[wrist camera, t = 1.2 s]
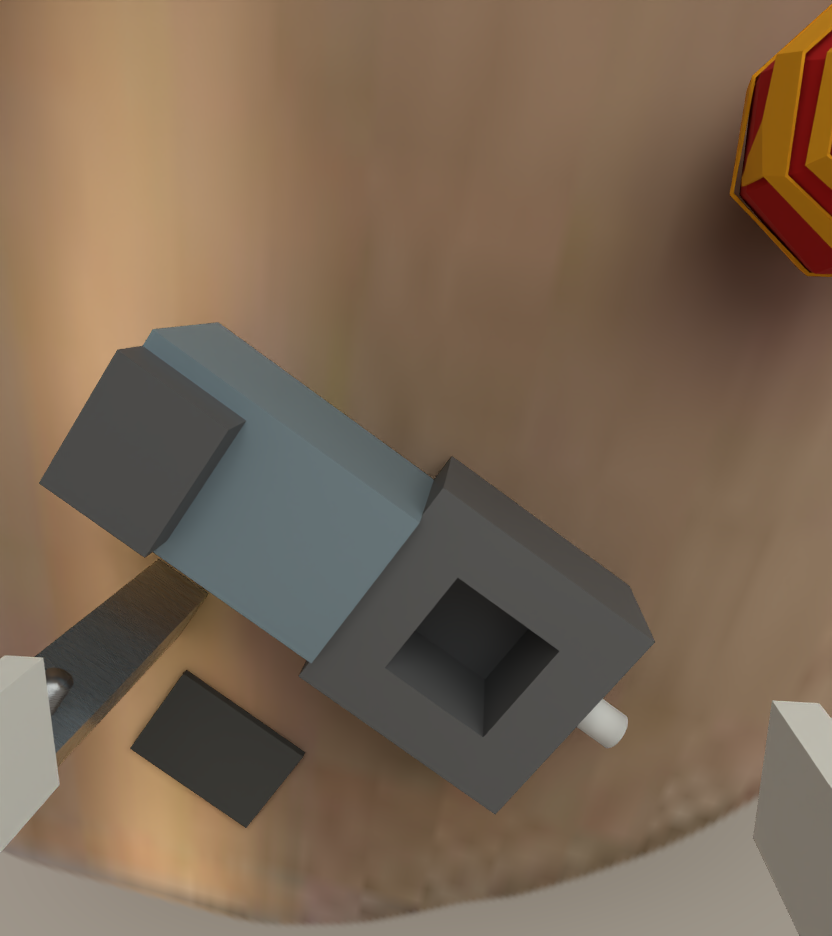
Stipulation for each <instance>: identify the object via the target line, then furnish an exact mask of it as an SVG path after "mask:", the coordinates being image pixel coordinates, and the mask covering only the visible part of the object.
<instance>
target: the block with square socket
mask: <svg viewBox="0 0 832 936" xmlns="http://www.w3.org/2000/svg"><path fill="white" fill-rule="evenodd" d="M39 484H41V485H42V486H44V487H45V488H46V489H48V490H49V491H51V492H52V493H53V494H55V495H56V496H58V497H59V498H61V499H62V500H63V501H65V502H66V503H68V504H69V505H71V506H72V507H73V508H75V509H76V510H78V511H79V512H80V513H82V514H83V515H85V516H86V517H88V518H89V519H90V520H92V521H93V522H95V523H96V524H98V525H99V526H100V527H102V528H103V529H105V530H106V531H107V532H109V533H110V534H112V535H113V536H115V537H116V538H117V539H119V540H120V541H122V542H123V543H125V544H126V545H127V546H129V547H130V548H132V549H133V550H134V551H136V552H137V553H139V554H140V555H142V556H143V557H144V558H145V557H146V556H148V555H149V554H150V553H152V552H154V553H155V554H156V555H158V556H159V557H161V558H162V559H164V560H165V561H166V562H168V563H169V564H171V565H172V566H173V567H175V568H176V569H178V570H179V571H181V572H182V573H183V574H185V575H186V576H188V577H189V578H191V579H192V580H193V581H195V582H196V583H198V584H199V585H200V586H202V587H203V588H205V589H206V590H208V591H209V592H210V593H212V594H213V595H215V596H216V597H218V598H219V599H220V600H222V601H223V602H225V603H226V604H227V605H229V606H230V607H232V608H233V609H235V610H236V611H237V612H239V613H240V614H242V615H243V616H244V617H246V618H247V619H249V620H250V621H252V622H253V623H254V624H256V625H257V626H259V627H260V628H262V629H263V630H264V631H266V632H267V633H269V634H270V635H271V636H273V637H274V638H276V639H277V640H279V641H280V642H281V643H283V644H284V645H286V646H287V647H288V648H290V649H291V650H293V651H294V652H296V653H297V654H298V655H300V656H301V657H303V658H304V659H306V660H307V661H306V663H305V665H304V666H303V668H302V670H301V672H300V674H299V677H300V678H302V679H303V680H304V681H306V682H307V683H309V684H310V685H312V686H313V687H314V688H316V689H317V690H319V691H320V692H322V693H323V694H324V695H326V696H327V697H329V698H330V699H331V700H333V701H334V702H336V703H337V704H339V705H340V706H341V707H343V708H344V709H346V710H347V711H349V712H350V713H351V714H353V715H354V716H356V717H357V718H359V719H360V720H361V721H363V722H364V723H366V724H367V725H368V726H370V727H371V728H373V729H374V730H376V731H377V732H378V733H380V734H381V735H383V736H384V737H386V738H387V739H388V740H390V741H391V742H393V743H394V744H396V745H397V746H398V747H400V748H401V749H403V750H404V751H405V752H407V753H408V754H410V755H411V756H413V757H414V758H415V759H417V760H418V761H420V762H421V763H423V764H424V765H425V766H427V767H428V768H430V769H431V770H433V771H434V772H435V773H437V774H438V775H440V776H441V777H443V778H444V779H445V780H447V781H448V782H450V783H451V784H452V785H454V786H455V787H457V788H458V789H460V790H461V791H462V792H464V793H465V794H467V795H468V796H470V797H471V798H472V799H474V800H475V801H477V802H478V803H480V804H481V805H482V806H484V807H485V808H487V809H488V810H489V811H491V812H492V813H494V814H496V813H497V812H498V811H499V810H500V809H501V808H502V807H503V806H504V805H505V803H506V802H507V801H508V800H509V799H510V798H511V797H512V796H513V795H514V794H515V793H516V792H517V790H518V789H519V788H520V787H521V786H522V785H523V784H524V783H525V782H526V781H527V780H528V779H529V778H530V776H531V775H532V774H533V773H534V772H535V771H536V770H537V769H538V768H539V767H540V766H541V765H542V763H543V762H544V761H545V760H546V759H547V758H548V757H549V756H550V755H551V754H552V753H553V752H554V751H555V749H556V748H557V747H558V746H559V745H560V744H561V743H562V742H563V741H564V740H565V739H566V738H567V737H568V735H569V734H570V733H571V732H572V731H573V730H574V729H575V728H576V727H577V728H579V729H580V730H582V731H583V732H584V733H586V734H587V735H589V736H590V737H591V738H593V739H594V740H596V741H597V742H598V743H600V744H601V745H603V746H604V747H605V748H611V747H613V746H615V745H616V744H617V743H618V742H619V741H620V740H621V738H622V737H623V735H624V733H625V731H626V729H627V725H628V718H627V716H626V715H624V714H623V713H622V712H620V711H619V710H617V709H616V708H615V707H613V706H612V705H611V704H609V703H608V702H606V701H605V700H604V699H603V698H604V697H605V695H606V694H607V693H608V692H609V691H610V690H611V689H612V688H613V687H614V686H615V685H616V684H617V683H618V681H619V680H620V679H621V678H622V677H623V676H624V675H625V674H626V673H627V672H628V671H629V670H630V668H631V667H632V666H633V665H634V664H635V663H636V662H637V661H638V660H639V659H640V658H641V657H642V656H643V654H644V653H645V652H646V651H647V650H648V649H649V648H650V647H651V646H652V645H653V644H654V643H655V641H654V638H653V636H652V634H651V632H650V630H649V627H648V625H647V623H646V621H645V619H644V617H643V614H642V612H641V610H640V608H639V606H638V604H637V601H636V599H635V597H634V595H633V593H632V590H631V588H630V586H629V585H627V584H626V583H624V582H623V581H622V580H620V579H619V578H618V577H616V576H615V575H614V574H612V573H611V572H609V571H608V570H607V569H605V568H604V567H603V566H601V565H600V564H599V563H597V562H596V561H594V560H593V559H592V558H590V557H589V556H588V555H586V554H585V553H584V552H582V551H581V550H579V549H578V548H577V547H575V546H574V545H573V544H571V543H570V542H569V541H567V540H566V539H564V538H563V537H562V536H560V535H559V534H558V533H556V532H555V531H553V530H552V529H551V528H549V527H548V526H547V525H545V524H544V523H543V522H541V521H540V520H538V519H537V518H536V517H534V516H533V515H532V514H530V513H529V512H528V511H526V510H525V509H523V508H522V507H521V506H519V505H518V504H517V503H515V502H514V501H513V500H511V499H510V498H508V497H507V496H506V495H504V494H503V493H502V492H500V491H499V490H497V489H496V488H495V487H493V486H492V485H491V484H489V483H488V482H487V481H485V480H484V479H482V478H481V477H480V476H478V475H477V474H476V473H474V472H473V471H472V470H470V469H469V468H467V467H466V466H465V465H463V464H462V463H461V462H459V461H458V460H457V459H455V458H454V457H451V458H450V459H449V461H448V462H447V463H446V464H445V466H444V467H443V468H442V470H441V471H440V472H439V474H438V475H437V476H436V478H435V479H432V478H431V477H430V476H428V475H427V474H425V473H424V472H423V471H421V470H420V469H419V468H417V467H416V466H414V465H413V464H412V463H410V462H409V461H408V460H406V459H405V458H403V457H402V456H401V455H399V454H398V453H397V452H395V451H394V450H392V449H391V448H390V447H388V446H387V445H386V444H384V443H383V442H382V441H380V440H379V439H377V438H376V437H375V436H373V435H372V434H371V433H369V432H368V431H366V430H365V429H364V428H362V427H361V426H360V425H358V424H357V423H355V422H354V421H353V420H351V419H350V418H349V417H347V416H346V415H344V414H343V413H342V412H340V411H339V410H338V409H336V408H335V407H334V406H332V405H331V404H329V403H328V402H327V401H325V400H324V399H323V398H321V397H320V396H318V395H317V394H316V393H314V392H313V391H312V390H310V389H309V388H307V387H306V386H305V385H303V384H302V383H301V382H299V381H298V380H296V379H295V378H294V377H292V376H291V375H290V374H288V373H287V372H285V371H284V370H283V369H281V368H280V367H279V366H277V365H276V364H275V363H273V362H272V361H270V360H269V359H268V358H266V357H265V356H264V355H262V354H261V353H259V352H258V351H257V350H255V349H254V348H253V347H251V346H250V345H248V344H247V343H246V342H244V341H243V340H242V339H240V338H239V337H237V336H236V335H235V334H233V333H232V332H231V331H229V330H228V329H227V328H225V327H224V326H222V325H221V324H220V323H208V324H199V325H189V326H180V327H170V328H160V329H153V330H152V331H151V333H150V335H149V336H148V338H147V340H146V341H145V343H144V345H143V346H139V347H132V348H126V349H119V350H117V351H116V353H115V355H114V356H113V358H112V360H111V362H110V363H109V365H108V367H107V368H106V370H105V372H104V373H103V375H102V377H101V379H100V380H99V382H98V384H97V385H96V387H95V389H94V390H93V392H92V394H91V396H90V397H89V399H88V401H87V402H86V404H85V406H84V407H83V409H82V411H81V413H80V414H79V416H78V418H77V419H76V421H75V423H74V424H73V426H72V428H71V430H70V431H69V433H68V435H67V436H66V438H65V440H64V441H63V443H62V445H61V447H60V448H59V450H58V452H57V453H56V455H55V457H54V458H53V460H52V462H51V464H50V465H49V467H48V469H47V470H46V472H45V474H44V475H43V477H42V479H41V481H40V482H39Z"/></svg>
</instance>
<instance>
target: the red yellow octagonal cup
mask: <svg viewBox="0 0 832 936" xmlns="http://www.w3.org/2000/svg"><path fill="white" fill-rule="evenodd" d="M749 111H750V112H749ZM748 116H749V120H748ZM747 121H748V128H747V137H746V145H745V154H744V162H743V170H742V179H741V187H740V197H741V198H742V199H743V200H744V201H745V202H746V204H747V205H748V206H749V207H750V208H751V210H752V211H753V212H754V213H755V214H756V215H757V217H758V218H759V219H760V220H761V221H762V222H763V224H764V225H765V226H766V227H767V228H768V229H769V230H768V229H767V228H766V227H765V226H764V225H763V224H762V223H761V222H760V221H759V220H758V218H757V217H756V216H755V215H754V214H753V213H752V212H751V211H750V210H749V209H748V208H747V207H746V206H745V204H744V203H743V202H742V201H741V200H740V199H739V198H738V197H737V196H736V195H735V193H734V188H735V183H736V178H737V173H738V168H739V162H740V157H741V152H742V147H743V142H744V137H745V131H746V126H747ZM730 196H731V197H732V198H733V199H734V200H735V201H736V202H737V203H738V204H739V205H740V206H741V207H742V208H743V209H744V210H745V212H746V213H747V214H748V215H749V216H750V217H751V218H752V219H753V220H754V221H755V222H756V223H757V224H758V225H759V226H760V227H761V229H762V230H763V231H764V232H765V233H766V234H767V235H768V236H769V237H770V238H771V239H772V241H773V242H774V243H775V244H776V245H777V246H778V247H779V248H780V249H781V250H782V252H783V253H784V254H785V255H786V256H787V257H788V258H789V259H790V260H791V261H792V263H793V264H794V265H795V266H796V267H797V268H798V269H799V270H800V271H802V272H803V273H804V274H805V275H806V276H819V277H832V4H831V5H830V6H829V7H828V8H827V9H826V10H825V11H823V12H822V13H821V14H820V15H819V16H818V17H817V18H816V19H815V20H813V21H812V22H811V23H810V24H809V25H808V26H807V27H806V28H805V29H804V30H802V31H801V32H800V33H799V34H798V35H797V36H796V37H795V38H794V39H792V40H791V41H790V42H789V43H788V44H787V45H786V46H785V47H784V48H783V49H781V50H780V51H779V52H778V53H777V54H776V55H775V56H774V57H773V58H771V59H770V60H769V61H768V62H767V63H766V64H765V65H764V66H763V67H762V68H760V69H759V70H758V71H757V72H756V73H755V74H754V75H753V76H752V78H751V81H750V83H749V86H748V88H747V91H746V97H745V104H744V110H743V116H742V122H741V128H740V134H739V140H738V146H737V153H736V159H735V165H734V171H733V177H732V183H731V189H730Z"/></svg>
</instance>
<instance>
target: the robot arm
mask: <svg viewBox="0 0 832 936" xmlns="http://www.w3.org/2000/svg"><path fill="white" fill-rule="evenodd" d="M59 785H60V784H59V776H58V768H57V761H56V753H55V745H54V737H53V730H52V722H51V714H50V706H49V699H48V691H47V683H46V675H45V668H44V660H43V658H41V657H24V656H7V655H5V656H3V657H2V658H1V659H0V853H1V852H2V850H3V849H4V848H5V847H6V846H7V845H8V844H9V842H10V841H11V840H12V839H13V838H14V837H15V836H16V834H17V833H18V832H19V831H20V830H21V829H22V827H23V826H24V825H25V824H26V823H27V822H28V821H29V819H30V818H31V817H32V816H33V815H34V814H35V813H36V811H37V810H38V809H39V808H40V807H41V806H42V805H43V803H44V802H45V801H46V800H47V799H48V798H49V796H50V795H51V794H52V793H53V792H54V791H55V790H56V788H57V787H58V786H59ZM753 839H754V841H755V843H756V845H757V847H758V849H759V851H760V853H761V856H762V858H763V860H764V862H765V864H766V866H767V868H768V870H769V873H770V875H771V877H772V879H773V881H774V883H775V885H776V887H777V889H778V891H779V894H780V896H781V898H782V900H783V902H784V904H785V906H786V909H787V911H788V913H789V915H790V917H791V919H792V921H793V923H794V925H795V928H796V930H797V932H798V934H799V936H832V719H831V718H830V716H829V715H828V714H827V712H826V711H825V710H824V709H823V707H822V706H821V705H820V704H819V703H805V702H788V701H772V705H771V712H770V720H769V727H768V734H767V741H766V749H765V756H764V763H763V770H762V777H761V785H760V792H759V799H758V806H757V813H756V821H755V829H754V835H753Z"/></svg>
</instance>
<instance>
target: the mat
mask: <svg viewBox="0 0 832 936" xmlns="http://www.w3.org/2000/svg"><path fill="white" fill-rule="evenodd" d="M130 749H132V750H133V751H134V752H136V753H137V754H139V755H140V756H142V757H143V758H145V759H146V760H148V761H149V762H151V763H152V764H153V765H155V766H156V767H158V768H159V769H161V770H162V771H164V772H165V773H167V774H168V775H169V776H171V777H172V778H174V779H175V780H177V781H178V782H180V783H181V784H183V785H184V786H186V787H187V788H188V789H190V790H191V791H193V792H194V793H196V794H197V795H199V796H200V797H202V798H203V799H204V800H206V801H207V802H209V803H210V804H212V805H213V806H215V807H216V808H218V809H219V810H221V811H222V812H223V813H225V814H226V815H228V816H229V817H231V818H232V819H234V820H235V821H237V822H238V823H239V824H241V825H242V826H244V827H245V828H247V826H248V825H249V824H250V823H251V821H252V820H253V819H254V818H255V816H256V815H257V814H258V813H259V811H260V810H261V809H262V808H263V806H264V805H265V804H266V803H267V801H268V800H269V799H270V798H271V796H272V795H273V794H274V793H275V791H276V790H277V789H278V788H279V786H280V785H281V784H282V783H283V781H284V780H285V779H286V778H287V776H288V775H289V774H290V773H291V771H292V770H293V769H294V768H295V766H296V765H297V764H298V763H299V761H300V760H301V759H302V758H303V756H304V754H305V752H303V751H302V750H301V749H299V748H298V747H296V746H295V745H293V744H292V743H291V742H289V741H288V740H286V739H285V738H283V737H282V736H281V735H279V734H278V733H276V732H275V731H273V730H272V729H270V728H269V727H268V726H266V725H265V724H263V723H262V722H260V721H259V720H258V719H256V718H255V717H253V716H252V715H250V714H249V713H247V712H246V711H245V710H243V709H242V708H240V707H239V706H237V705H236V704H235V703H233V702H232V701H230V700H229V699H227V698H226V697H224V696H223V695H222V694H220V693H219V692H217V691H216V690H214V689H213V688H212V687H210V686H209V685H207V684H206V683H204V682H203V681H201V680H200V679H199V678H197V677H196V676H194V675H193V674H191V673H190V672H189V671H187V670H186V671H185V672H184V673H183V675H182V676H181V678H180V679H179V680H178V682H177V683H176V685H175V686H174V687H173V689H172V690H171V692H170V693H169V694H168V696H167V697H166V699H165V700H164V702H163V703H162V704H161V706H160V707H159V709H158V710H157V711H156V713H155V714H154V716H153V717H152V718H151V720H150V721H149V723H148V724H147V725H146V727H145V728H144V730H143V731H142V732H141V734H140V735H139V737H138V738H137V739H136V741H135V742H134V744H133V745H132V746H131V748H130Z"/></svg>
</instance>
